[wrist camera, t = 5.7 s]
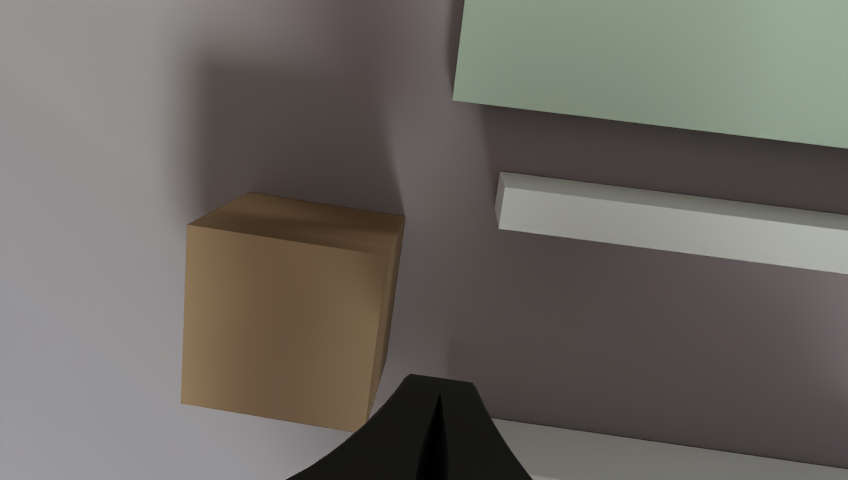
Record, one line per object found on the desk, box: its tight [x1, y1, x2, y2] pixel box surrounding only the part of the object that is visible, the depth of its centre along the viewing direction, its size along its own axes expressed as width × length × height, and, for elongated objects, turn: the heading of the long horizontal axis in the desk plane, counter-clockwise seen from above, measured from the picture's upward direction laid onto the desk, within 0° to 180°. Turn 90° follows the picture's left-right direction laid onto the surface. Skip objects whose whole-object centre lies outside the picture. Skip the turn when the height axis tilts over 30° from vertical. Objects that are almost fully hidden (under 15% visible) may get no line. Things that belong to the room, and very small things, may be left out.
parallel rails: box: [491, 171, 848, 480], centre depth 16 cm, size 12×8×2 cm
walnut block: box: [181, 192, 405, 432], centre depth 16 cm, size 4×4×4 cm
